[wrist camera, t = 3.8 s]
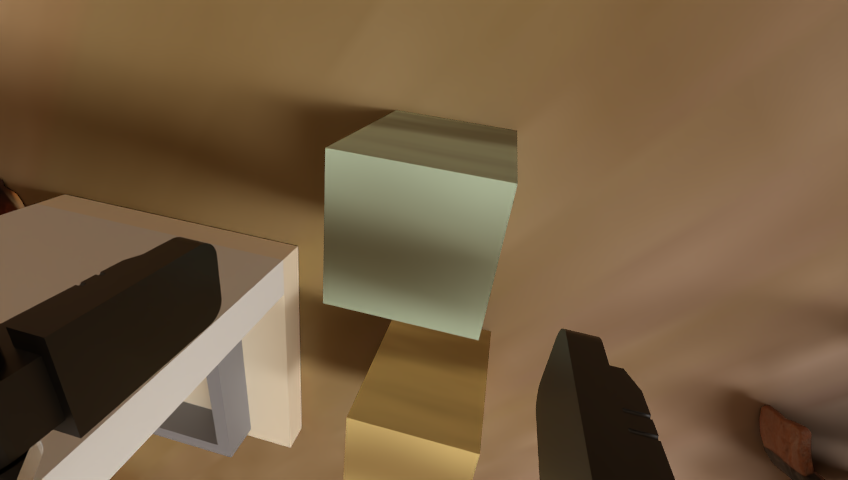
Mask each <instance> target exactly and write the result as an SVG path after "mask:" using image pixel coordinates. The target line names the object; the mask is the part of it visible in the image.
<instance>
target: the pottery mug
mask: <svg viewBox="0 0 848 480" xmlns="http://www.w3.org/2000/svg"><path fill="white" fill-rule="evenodd" d="M759 423H760V434H761V438H762V442H763V444H764V449H765V451H766V453H767V455H768V456H769V458H770V460H771V461H772V462H773V463H774V464H775V465H776V466H777V467H778V468H779V469H780V470H781V471H783V472H784V473H785V474H787V475H788V476H789V477H790V478H791V479H792V480H825V479H824V478H823V477H822V476H821V475H820V474H818V473H817V472H814V468H813V463H812V460H811V458H812V455H811V432H810V430H809V429H808V428H806V427H805V426H803V425H801V424H799V423H796V422H794V421H792V420H788V419H786V418H785V417H784V416H783V415H782V414H781V413H779V412H778V411H777V410H775V409H774V408H773V407H771V406H769V405H764V406H763V407H762V408H761V414H760V418H759Z"/></svg>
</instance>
